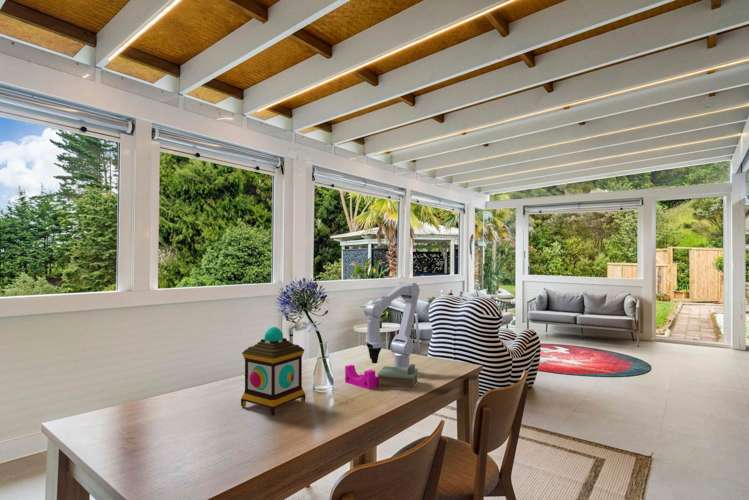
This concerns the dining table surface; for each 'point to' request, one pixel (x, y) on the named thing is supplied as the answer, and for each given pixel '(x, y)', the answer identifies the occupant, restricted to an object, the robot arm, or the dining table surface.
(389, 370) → the lid
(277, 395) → the decorative lantern
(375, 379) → the toy block
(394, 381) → the brown wooden tray
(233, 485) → the dining table surface
